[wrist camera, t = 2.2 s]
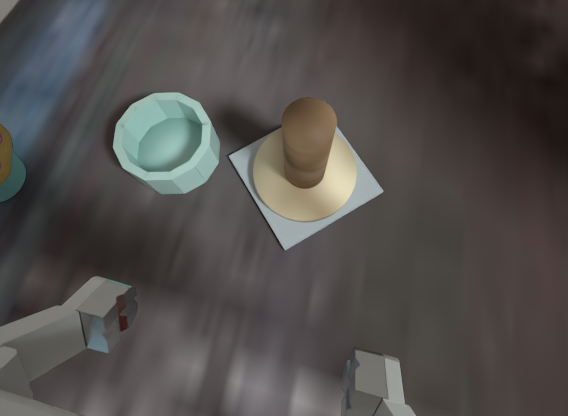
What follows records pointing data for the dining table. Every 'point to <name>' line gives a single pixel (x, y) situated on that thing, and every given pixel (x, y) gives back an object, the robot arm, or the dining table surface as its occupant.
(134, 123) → the bowl
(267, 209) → the mat
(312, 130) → the lid
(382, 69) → the dining table surface
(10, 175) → the cupcake
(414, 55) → the dining table surface
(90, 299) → the robot arm
